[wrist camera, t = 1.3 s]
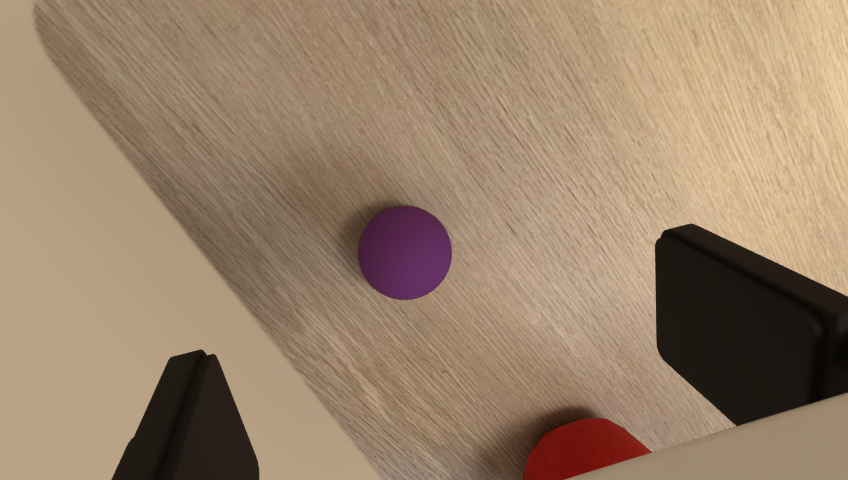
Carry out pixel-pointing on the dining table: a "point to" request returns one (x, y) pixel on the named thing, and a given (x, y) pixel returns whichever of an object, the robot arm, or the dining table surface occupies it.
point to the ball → (404, 252)
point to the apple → (581, 449)
